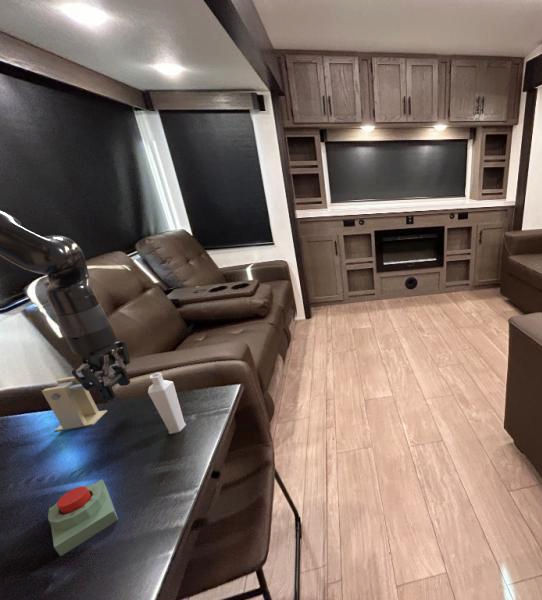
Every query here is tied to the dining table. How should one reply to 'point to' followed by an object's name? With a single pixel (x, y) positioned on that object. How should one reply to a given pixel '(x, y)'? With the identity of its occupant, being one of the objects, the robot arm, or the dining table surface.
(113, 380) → the gray bracket-mounted lever
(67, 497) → the button
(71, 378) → the lever bracket
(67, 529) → the button block
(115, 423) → the dining table surface
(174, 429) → the perfume bottle
